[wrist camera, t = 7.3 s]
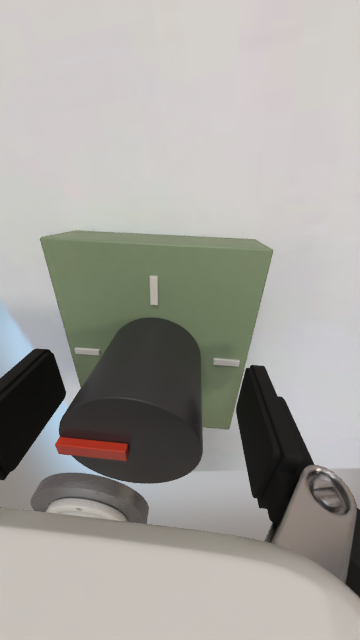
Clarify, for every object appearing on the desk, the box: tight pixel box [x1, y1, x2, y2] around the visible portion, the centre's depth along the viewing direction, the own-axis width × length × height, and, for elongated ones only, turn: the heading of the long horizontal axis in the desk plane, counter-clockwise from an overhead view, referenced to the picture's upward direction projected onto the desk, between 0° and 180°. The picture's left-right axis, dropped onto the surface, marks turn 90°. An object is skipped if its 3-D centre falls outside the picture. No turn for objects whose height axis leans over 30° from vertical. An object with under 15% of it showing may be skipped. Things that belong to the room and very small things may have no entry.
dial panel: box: [40, 231, 273, 429], centre depth 13 cm, size 12×10×3 cm
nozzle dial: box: [55, 318, 203, 483], centre depth 9 cm, size 5×5×5 cm
